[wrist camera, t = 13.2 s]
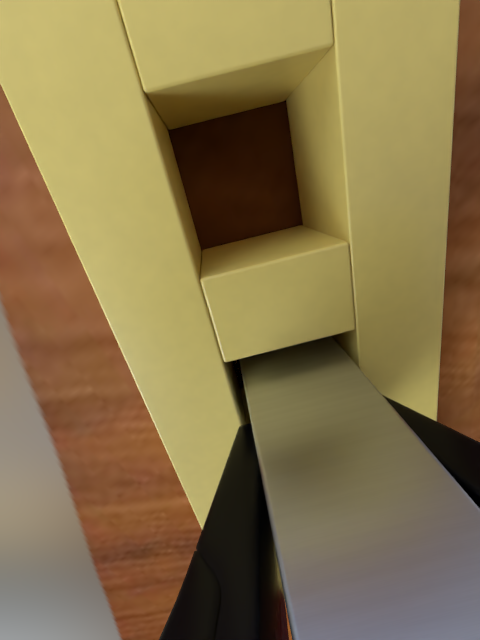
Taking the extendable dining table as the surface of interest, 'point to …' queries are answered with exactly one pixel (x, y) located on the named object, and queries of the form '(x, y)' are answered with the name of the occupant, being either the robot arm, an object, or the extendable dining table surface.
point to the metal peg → (358, 505)
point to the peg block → (261, 251)
